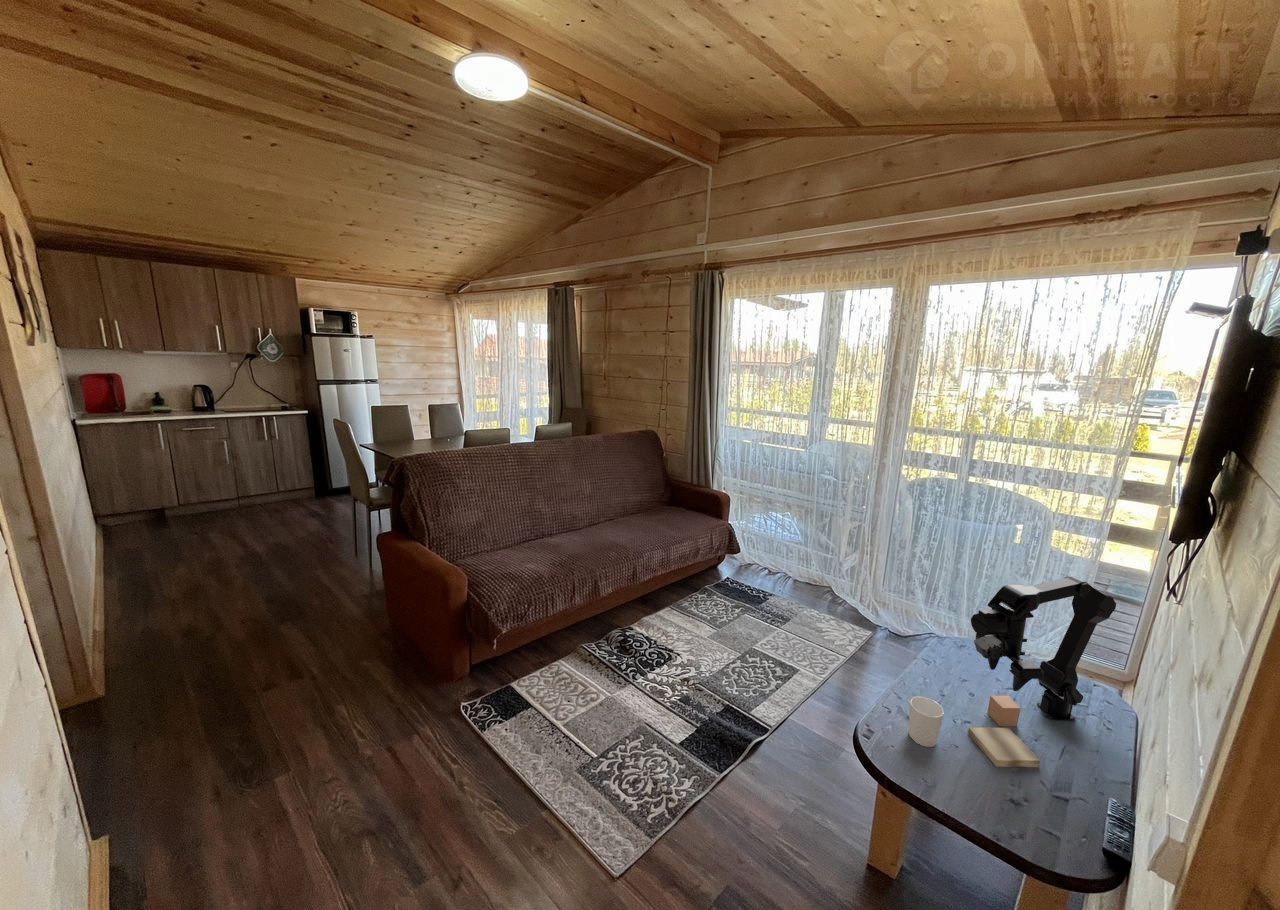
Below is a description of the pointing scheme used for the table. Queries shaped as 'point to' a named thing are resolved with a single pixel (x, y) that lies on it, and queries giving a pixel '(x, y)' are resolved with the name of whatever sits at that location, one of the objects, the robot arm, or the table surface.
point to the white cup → (925, 721)
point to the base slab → (1003, 747)
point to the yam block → (1003, 710)
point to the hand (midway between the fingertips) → (1003, 679)
